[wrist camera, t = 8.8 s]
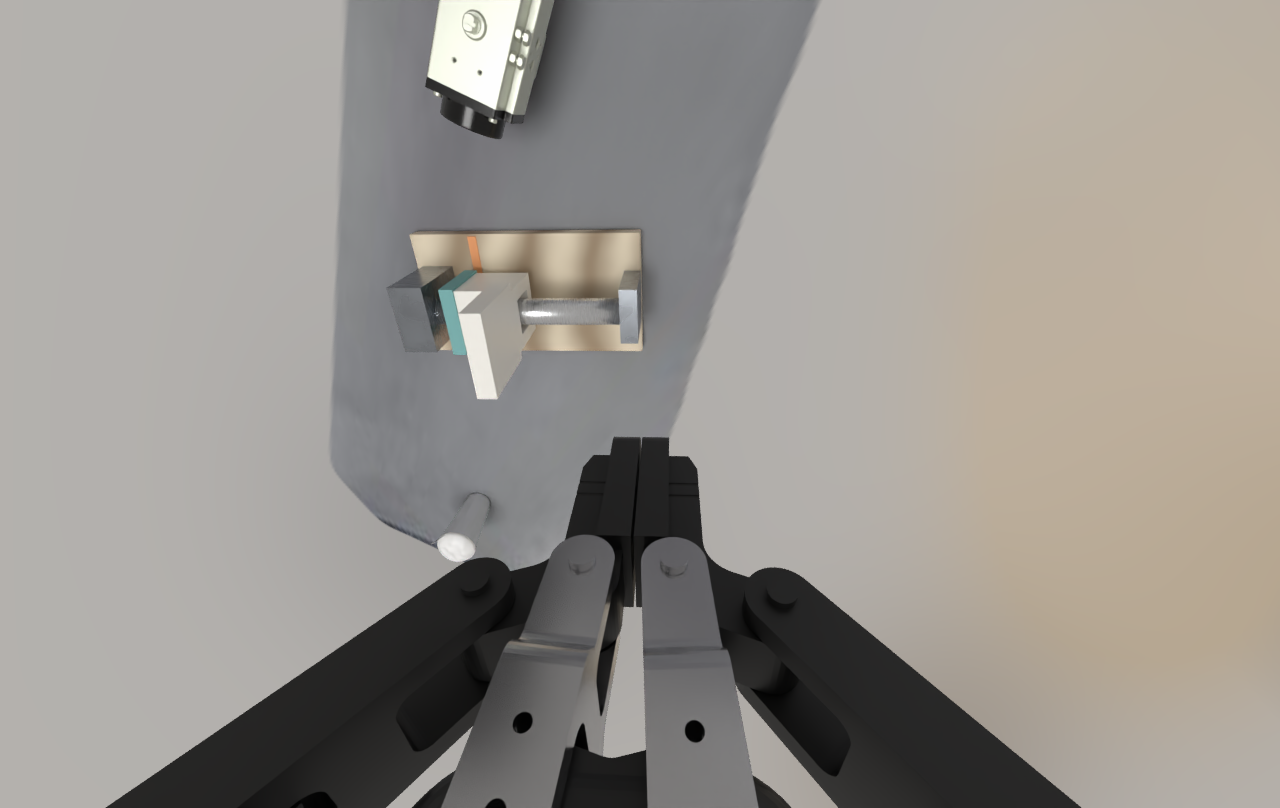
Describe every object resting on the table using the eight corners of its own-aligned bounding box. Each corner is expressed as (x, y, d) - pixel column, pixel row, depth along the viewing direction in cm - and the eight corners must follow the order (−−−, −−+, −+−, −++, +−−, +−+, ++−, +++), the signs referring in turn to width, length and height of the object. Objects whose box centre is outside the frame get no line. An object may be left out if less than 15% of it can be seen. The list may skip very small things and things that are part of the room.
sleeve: (527, 265, 44) (480, 313, 33) (536, 334, 48) (497, 399, 37) (474, 265, 45) (411, 313, 34) (488, 334, 48) (435, 398, 37)
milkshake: (477, 480, 63) (447, 537, 54) (502, 507, 65) (476, 566, 57) (451, 491, 64) (417, 549, 56) (476, 517, 66) (448, 576, 58)
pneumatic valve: (477, 111, 41) (413, 110, 31) (513, -58, 35) (449, -130, 25) (538, 141, 42) (495, 149, 32) (583, -20, 36) (549, -74, 26)
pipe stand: (640, 229, 45) (635, 250, 38) (642, 345, 51) (638, 382, 44) (416, 231, 46) (369, 252, 39) (445, 344, 53) (409, 380, 45)
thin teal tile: (476, 270, 45) (451, 289, 40) (488, 329, 48) (466, 354, 43) (464, 270, 45) (437, 289, 40) (476, 329, 48) (453, 354, 43)
